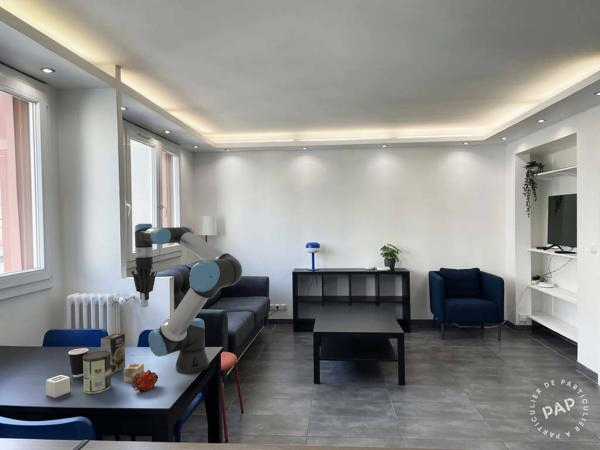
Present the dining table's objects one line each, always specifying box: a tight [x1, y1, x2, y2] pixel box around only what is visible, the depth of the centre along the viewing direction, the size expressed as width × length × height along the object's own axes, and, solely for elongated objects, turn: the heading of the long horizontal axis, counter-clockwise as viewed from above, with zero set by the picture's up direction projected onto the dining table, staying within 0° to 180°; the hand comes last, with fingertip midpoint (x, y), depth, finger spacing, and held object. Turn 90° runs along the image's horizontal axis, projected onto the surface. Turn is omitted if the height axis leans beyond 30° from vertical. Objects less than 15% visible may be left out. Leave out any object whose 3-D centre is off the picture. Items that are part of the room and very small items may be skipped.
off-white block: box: [45, 374, 71, 399], centre depth 154 cm, size 6×6×6 cm
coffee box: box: [100, 333, 126, 375], centre depth 178 cm, size 9×6×16 cm
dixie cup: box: [68, 347, 89, 378], centre depth 173 cm, size 8×8×11 cm
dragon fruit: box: [131, 369, 159, 393], centre depth 157 cm, size 8×8×12 cm
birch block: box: [123, 362, 145, 383], centre depth 167 cm, size 6×6×6 cm
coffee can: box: [83, 350, 112, 395], centre depth 158 cm, size 10×10×14 cm
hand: (144, 306), depth 178 cm, fingers closed
